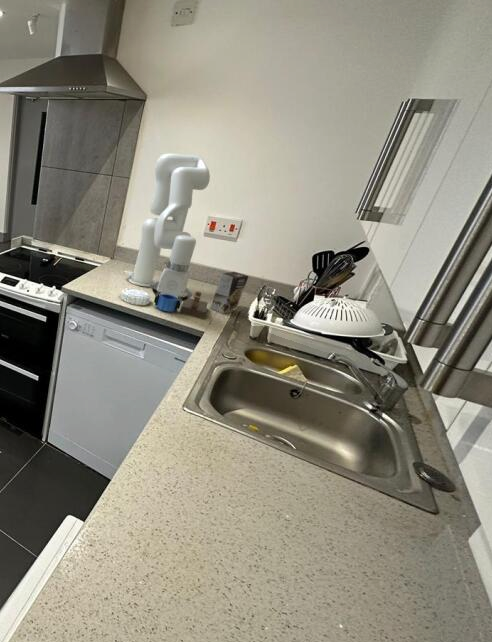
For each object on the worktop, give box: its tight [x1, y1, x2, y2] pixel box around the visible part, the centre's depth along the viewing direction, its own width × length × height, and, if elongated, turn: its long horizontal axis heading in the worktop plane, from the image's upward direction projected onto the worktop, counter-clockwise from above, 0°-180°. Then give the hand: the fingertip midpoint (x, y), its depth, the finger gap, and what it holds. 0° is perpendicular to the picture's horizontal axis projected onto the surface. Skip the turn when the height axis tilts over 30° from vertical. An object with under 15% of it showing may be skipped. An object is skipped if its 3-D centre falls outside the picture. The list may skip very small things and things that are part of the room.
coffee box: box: [209, 271, 249, 314], centre depth 165 cm, size 9×6×16 cm
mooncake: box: [120, 287, 151, 306], centre depth 170 cm, size 12×12×4 cm
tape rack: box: [179, 290, 209, 320], centre depth 163 cm, size 9×13×8 cm
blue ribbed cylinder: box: [155, 293, 178, 312], centre depth 162 cm, size 7×7×5 cm
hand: (165, 306), depth 163 cm, fingers closed on blue ribbed cylinder, 7 cm apart
